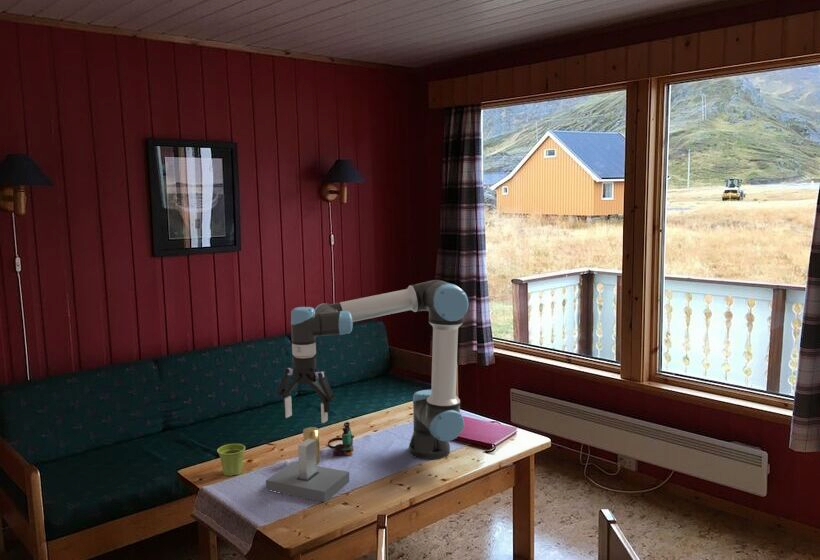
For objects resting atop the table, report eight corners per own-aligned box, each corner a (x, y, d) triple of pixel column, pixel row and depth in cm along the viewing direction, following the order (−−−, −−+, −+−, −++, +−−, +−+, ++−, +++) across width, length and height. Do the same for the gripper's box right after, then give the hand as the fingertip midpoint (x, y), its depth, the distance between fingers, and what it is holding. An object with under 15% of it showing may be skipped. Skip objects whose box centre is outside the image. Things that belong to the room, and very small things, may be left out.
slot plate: (349, 481, 227) (349, 471, 227) (324, 502, 213) (324, 491, 212) (293, 471, 236) (293, 461, 236) (266, 490, 222) (265, 480, 221)
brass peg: (322, 460, 245) (321, 427, 244) (315, 465, 240) (314, 433, 239) (309, 458, 247) (307, 426, 246) (301, 464, 242) (300, 431, 240)
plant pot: (212, 476, 233) (211, 452, 232) (229, 465, 242) (227, 442, 240) (236, 480, 230) (234, 455, 228) (251, 469, 238) (250, 445, 237)
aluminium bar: (317, 483, 227) (315, 440, 224) (307, 490, 221) (306, 446, 219) (309, 481, 228) (308, 438, 226) (299, 489, 222) (298, 445, 220)
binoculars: (327, 423, 256) (353, 420, 255) (330, 449, 257) (357, 447, 257) (323, 431, 247) (351, 428, 246) (327, 459, 248) (354, 456, 248)
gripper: (264, 354, 220) (267, 417, 223) (332, 361, 210) (334, 427, 213) (278, 349, 227) (280, 410, 230) (344, 356, 217) (345, 420, 220)
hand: (306, 419), depth 222 cm, fingers open, 13 cm apart
